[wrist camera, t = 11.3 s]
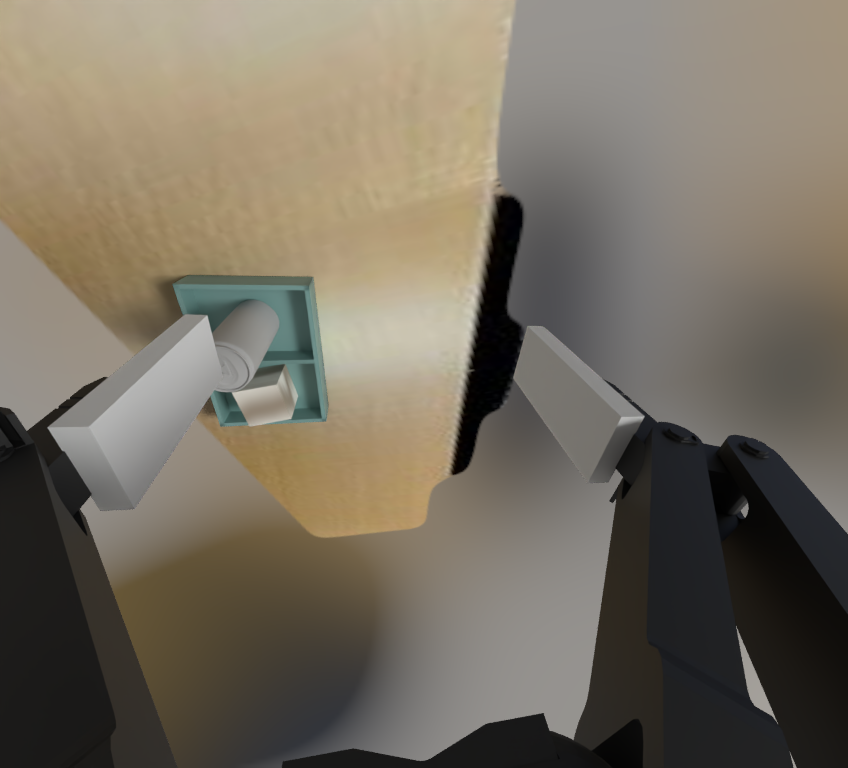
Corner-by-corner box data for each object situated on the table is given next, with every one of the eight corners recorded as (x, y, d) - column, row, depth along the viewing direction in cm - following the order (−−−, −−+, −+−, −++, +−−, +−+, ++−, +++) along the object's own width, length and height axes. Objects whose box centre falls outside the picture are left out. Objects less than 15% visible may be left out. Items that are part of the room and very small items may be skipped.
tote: (187, 275, 36) (172, 284, 33) (313, 276, 38) (309, 285, 35) (229, 410, 46) (220, 426, 43) (328, 406, 48) (326, 421, 45)
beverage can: (246, 341, 40) (206, 398, 30) (227, 302, 37) (177, 350, 27) (286, 333, 40) (261, 388, 30) (271, 294, 38) (237, 339, 28)
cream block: (244, 370, 42) (231, 392, 38) (285, 363, 42) (276, 384, 38) (260, 402, 45) (249, 426, 40) (298, 395, 45) (291, 418, 41)
